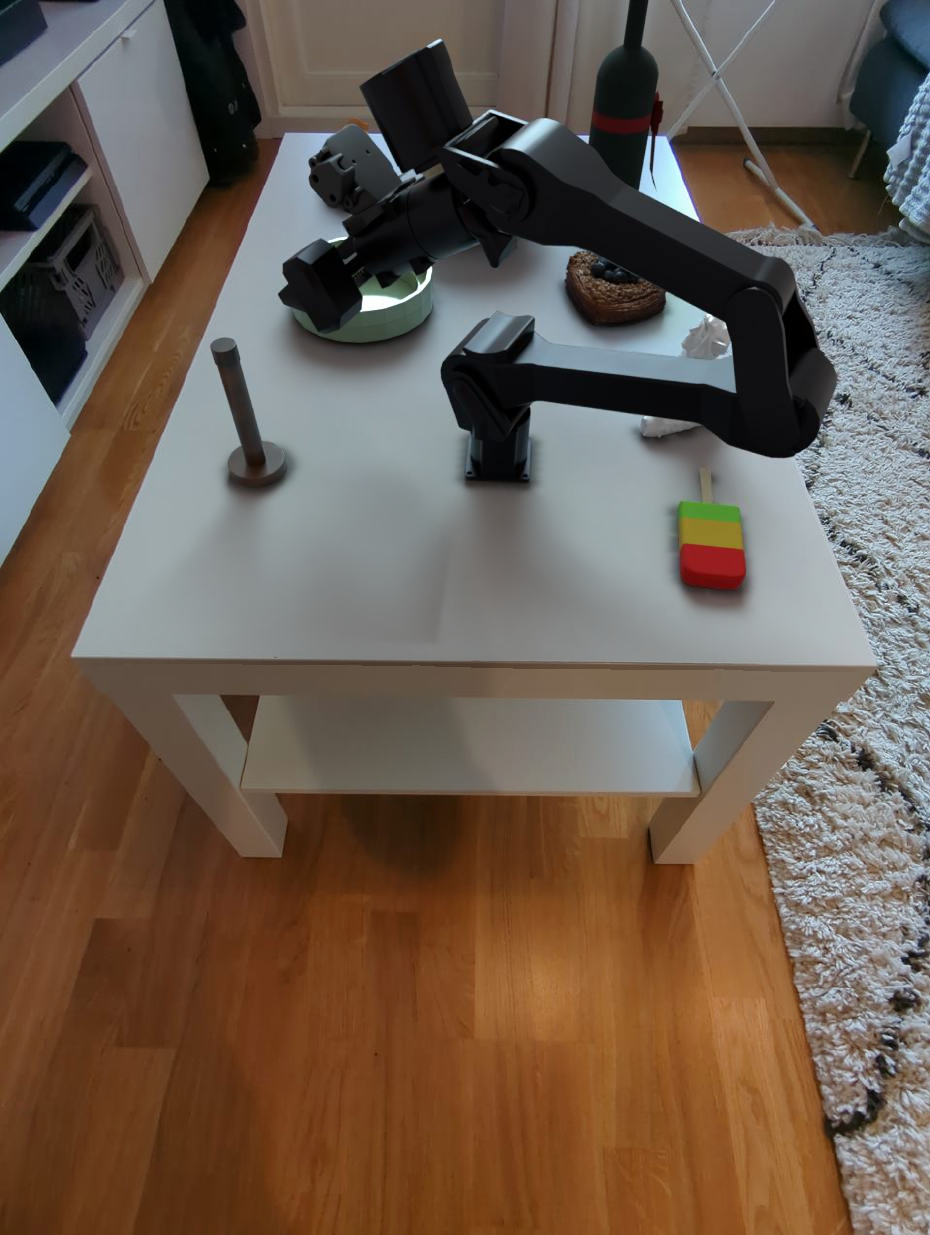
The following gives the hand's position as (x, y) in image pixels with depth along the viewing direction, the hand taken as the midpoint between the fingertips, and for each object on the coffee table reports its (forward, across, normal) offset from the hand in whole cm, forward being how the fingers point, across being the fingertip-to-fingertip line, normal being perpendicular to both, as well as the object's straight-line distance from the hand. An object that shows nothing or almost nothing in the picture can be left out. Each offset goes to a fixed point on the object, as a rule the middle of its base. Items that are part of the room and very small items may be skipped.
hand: (311, 275), depth 70 cm
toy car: (+29, -42, 0) cm, 51 cm away
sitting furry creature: (-22, -16, +30) cm, 40 cm away
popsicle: (-28, -1, +34) cm, 44 cm away
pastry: (-9, -34, +22) cm, 41 cm away
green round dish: (+13, -17, +9) cm, 24 cm away
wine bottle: (-3, -52, +19) cm, 56 cm away
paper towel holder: (+8, +12, +12) cm, 19 cm away
